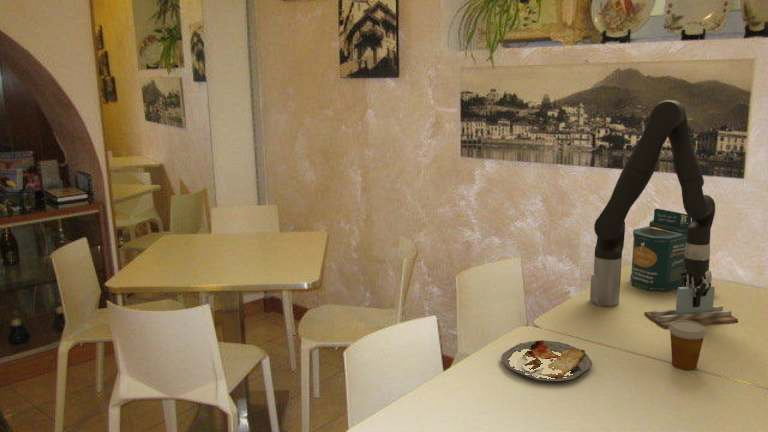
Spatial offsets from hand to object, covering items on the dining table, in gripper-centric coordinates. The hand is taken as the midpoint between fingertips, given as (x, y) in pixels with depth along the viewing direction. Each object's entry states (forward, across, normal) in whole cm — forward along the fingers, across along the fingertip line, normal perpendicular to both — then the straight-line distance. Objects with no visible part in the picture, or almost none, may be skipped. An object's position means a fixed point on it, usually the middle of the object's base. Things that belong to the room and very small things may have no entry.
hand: (693, 305), depth 213 cm
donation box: (+5, -34, +6) cm, 35 cm away
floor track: (+5, 0, -1) cm, 5 cm away
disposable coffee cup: (+5, +31, -23) cm, 39 cm away
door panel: (+4, 0, 0) cm, 4 cm away
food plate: (+4, +23, -61) cm, 65 cm away
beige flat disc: (+5, -20, +17) cm, 27 cm away
